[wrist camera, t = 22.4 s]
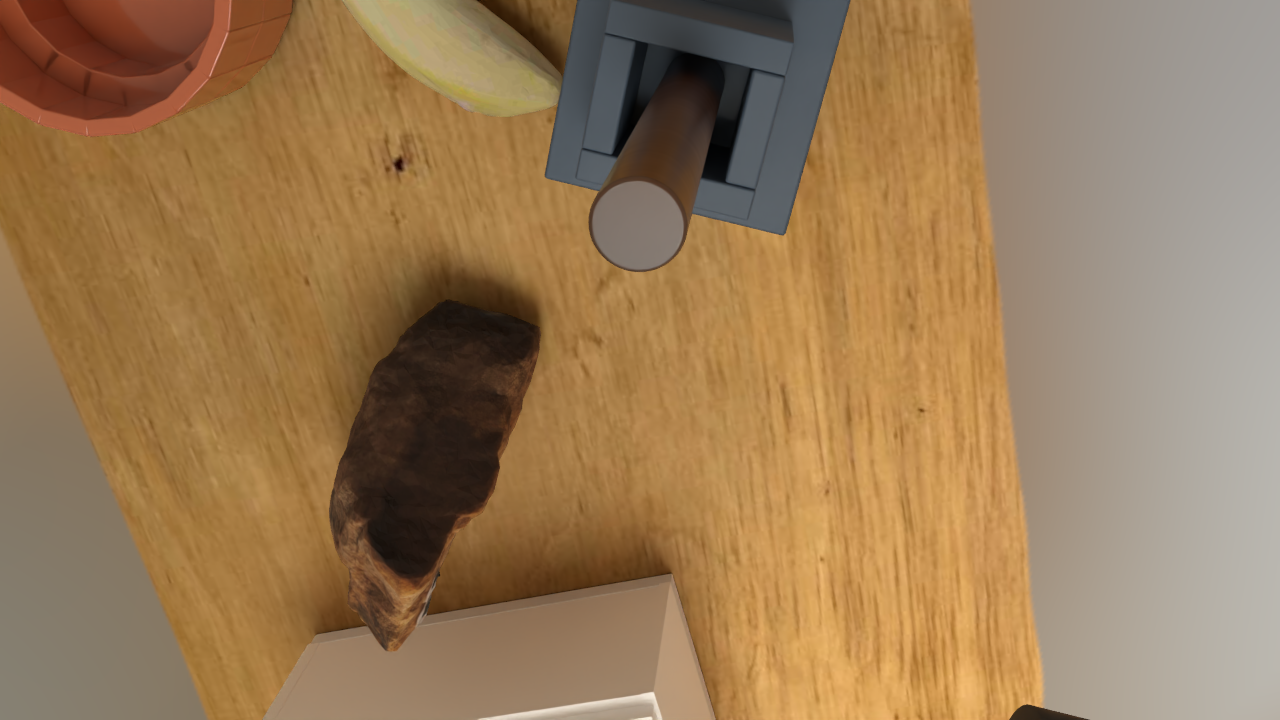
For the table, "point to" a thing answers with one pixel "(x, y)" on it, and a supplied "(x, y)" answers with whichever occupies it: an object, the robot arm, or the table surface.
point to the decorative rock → (426, 457)
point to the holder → (749, 107)
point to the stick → (659, 170)
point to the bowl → (130, 58)
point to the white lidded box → (513, 663)
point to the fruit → (462, 53)
